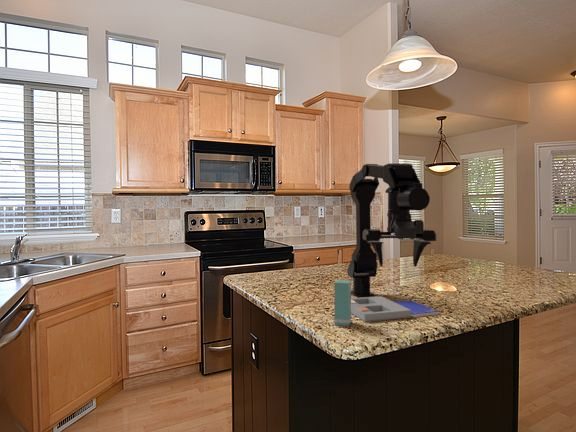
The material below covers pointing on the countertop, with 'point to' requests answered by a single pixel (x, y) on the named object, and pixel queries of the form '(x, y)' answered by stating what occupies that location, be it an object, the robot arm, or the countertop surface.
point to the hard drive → (417, 308)
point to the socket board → (377, 309)
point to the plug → (342, 302)
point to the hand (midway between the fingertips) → (398, 266)
